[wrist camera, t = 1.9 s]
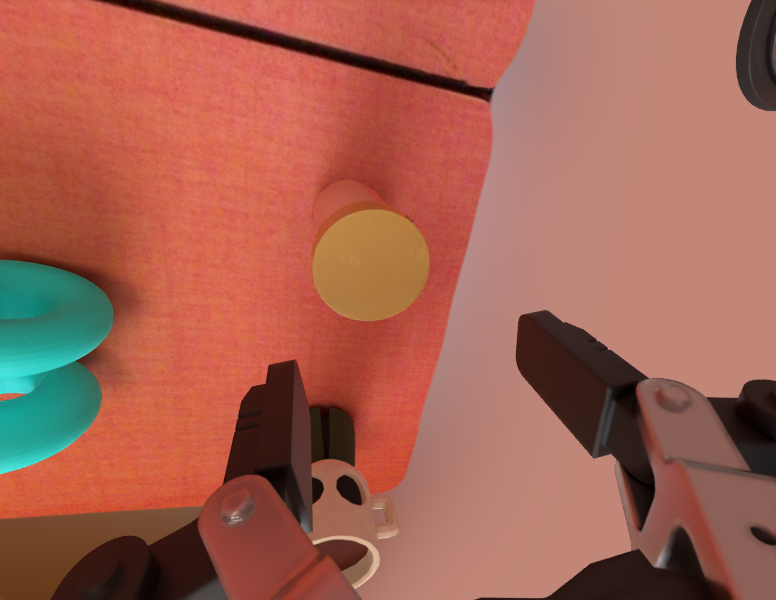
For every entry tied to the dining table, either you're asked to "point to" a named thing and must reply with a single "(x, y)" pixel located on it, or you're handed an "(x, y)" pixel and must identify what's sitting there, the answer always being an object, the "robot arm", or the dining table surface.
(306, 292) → the dining table surface
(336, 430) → the character mug
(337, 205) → the jar
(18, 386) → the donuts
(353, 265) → the lid
